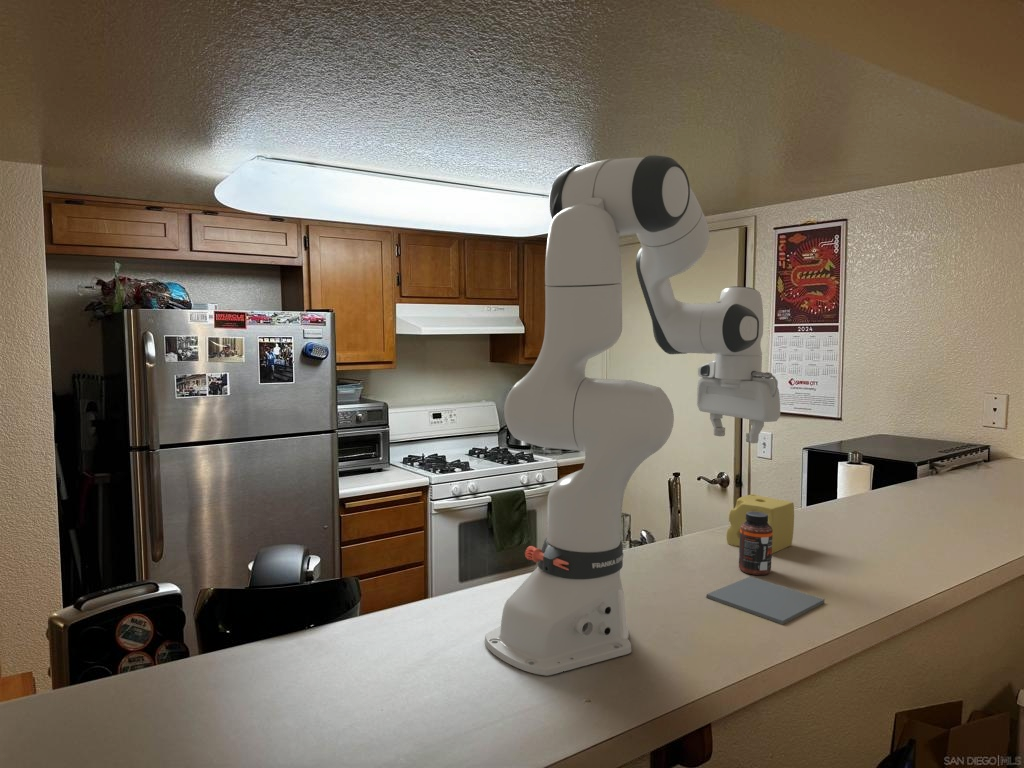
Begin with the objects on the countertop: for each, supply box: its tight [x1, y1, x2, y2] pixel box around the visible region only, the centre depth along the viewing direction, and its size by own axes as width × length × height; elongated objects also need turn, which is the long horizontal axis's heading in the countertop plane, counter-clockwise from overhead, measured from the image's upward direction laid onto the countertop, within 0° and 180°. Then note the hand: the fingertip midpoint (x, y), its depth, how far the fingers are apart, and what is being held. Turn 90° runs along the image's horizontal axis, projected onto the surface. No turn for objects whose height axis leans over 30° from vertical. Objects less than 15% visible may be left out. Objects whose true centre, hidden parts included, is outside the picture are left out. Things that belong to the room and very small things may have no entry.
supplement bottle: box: [738, 512, 773, 576], centre depth 132 cm, size 6×6×11 cm
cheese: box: [726, 493, 795, 554], centre depth 149 cm, size 10×11×10 cm
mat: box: [706, 576, 825, 625], centre depth 118 cm, size 14×14×1 cm
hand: (735, 439), depth 136 cm, fingers open, 8 cm apart
